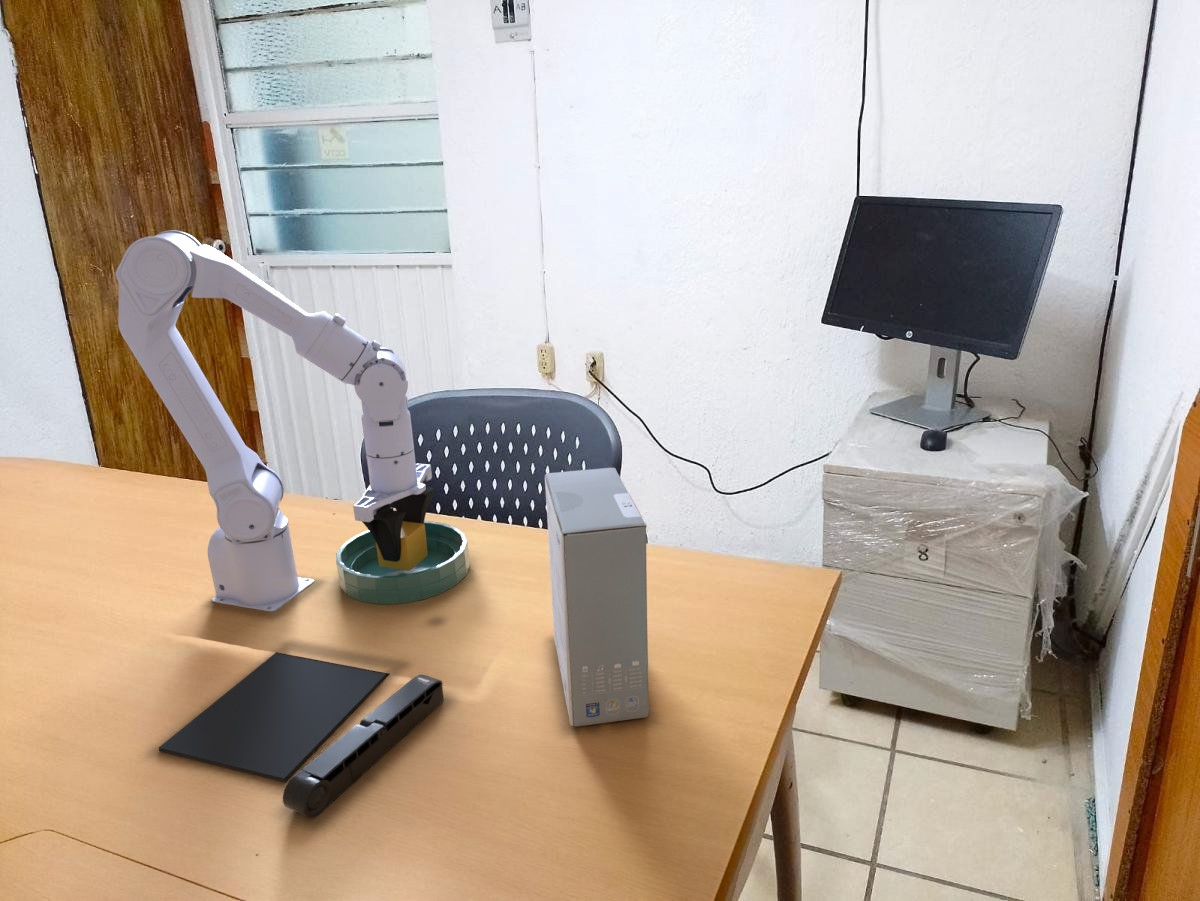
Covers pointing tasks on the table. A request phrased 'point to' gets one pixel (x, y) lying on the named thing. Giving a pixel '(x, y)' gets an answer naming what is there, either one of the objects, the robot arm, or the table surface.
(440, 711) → the table surface
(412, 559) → the block
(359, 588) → the bowl
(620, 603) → the hard drive box
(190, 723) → the mat
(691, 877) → the table surface
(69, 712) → the table surface
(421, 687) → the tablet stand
